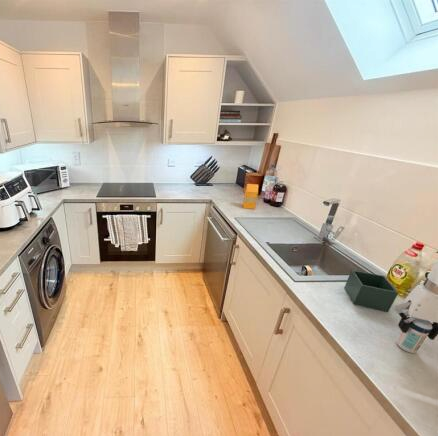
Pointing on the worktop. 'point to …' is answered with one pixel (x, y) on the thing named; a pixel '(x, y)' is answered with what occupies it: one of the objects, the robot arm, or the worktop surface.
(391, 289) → the waste bin
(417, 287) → the robot arm
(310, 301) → the worktop surface
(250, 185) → the orange juice
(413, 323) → the white and teal cylinder
